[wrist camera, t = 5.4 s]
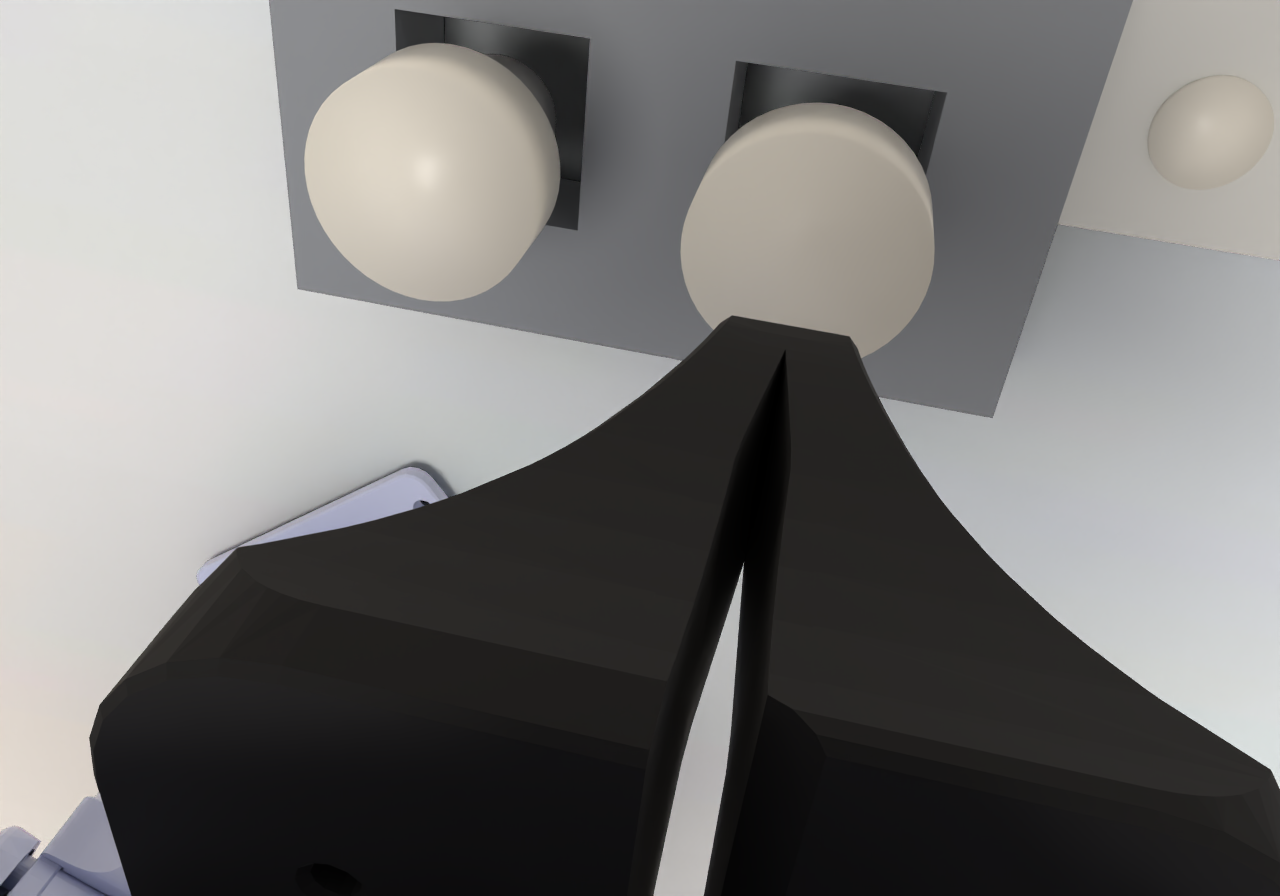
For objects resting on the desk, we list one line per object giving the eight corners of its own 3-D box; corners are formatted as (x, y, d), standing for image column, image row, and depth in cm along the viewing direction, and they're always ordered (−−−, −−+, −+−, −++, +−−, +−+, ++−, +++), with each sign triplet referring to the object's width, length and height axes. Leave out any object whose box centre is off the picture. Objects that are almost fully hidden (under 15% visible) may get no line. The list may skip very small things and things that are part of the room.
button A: (604, 25, 17) (538, 88, 14) (590, 225, 19) (529, 319, 16) (399, -5, 17) (294, 50, 14) (406, 194, 19) (314, 280, 16)
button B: (954, 78, 16) (964, 157, 13) (902, 280, 18) (900, 389, 15) (734, 44, 17) (696, 114, 14) (706, 246, 19) (668, 345, 16)
